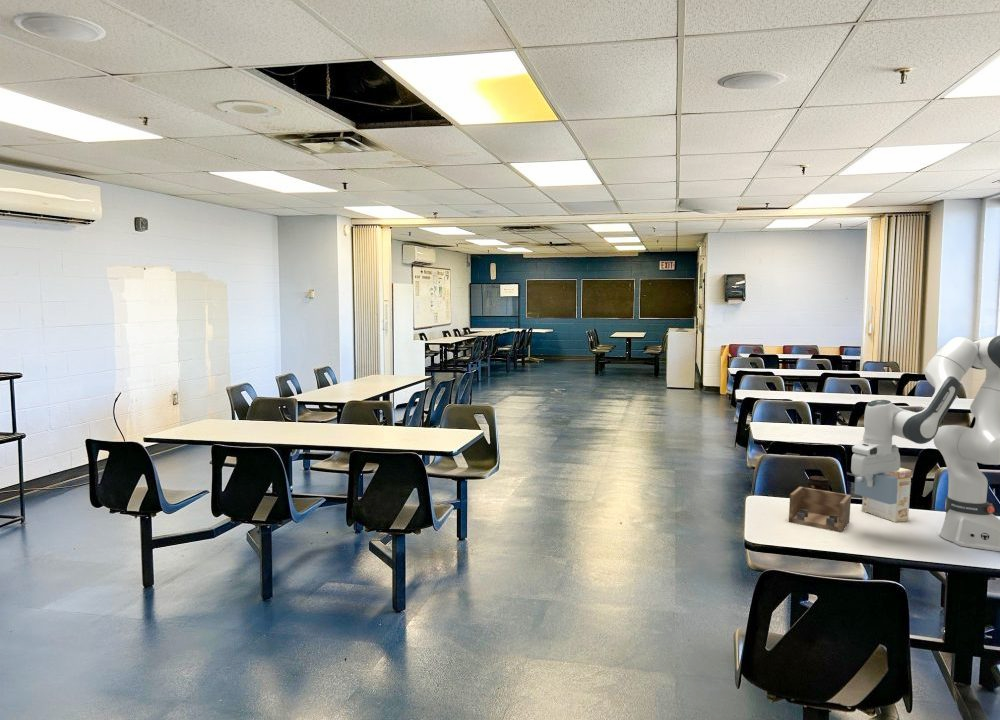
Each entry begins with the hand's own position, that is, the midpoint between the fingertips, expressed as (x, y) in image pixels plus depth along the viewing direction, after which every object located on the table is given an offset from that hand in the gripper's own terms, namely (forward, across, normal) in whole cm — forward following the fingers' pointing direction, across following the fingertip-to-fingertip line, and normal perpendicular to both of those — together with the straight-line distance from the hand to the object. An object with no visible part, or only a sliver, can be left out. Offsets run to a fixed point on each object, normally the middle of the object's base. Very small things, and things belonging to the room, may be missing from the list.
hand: (875, 485), depth 238 cm
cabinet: (+18, +6, -18) cm, 26 cm away
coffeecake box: (+19, -24, -15) cm, 34 cm away
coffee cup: (+18, -6, -29) cm, 35 cm away
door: (+5, 0, 0) cm, 5 cm away
